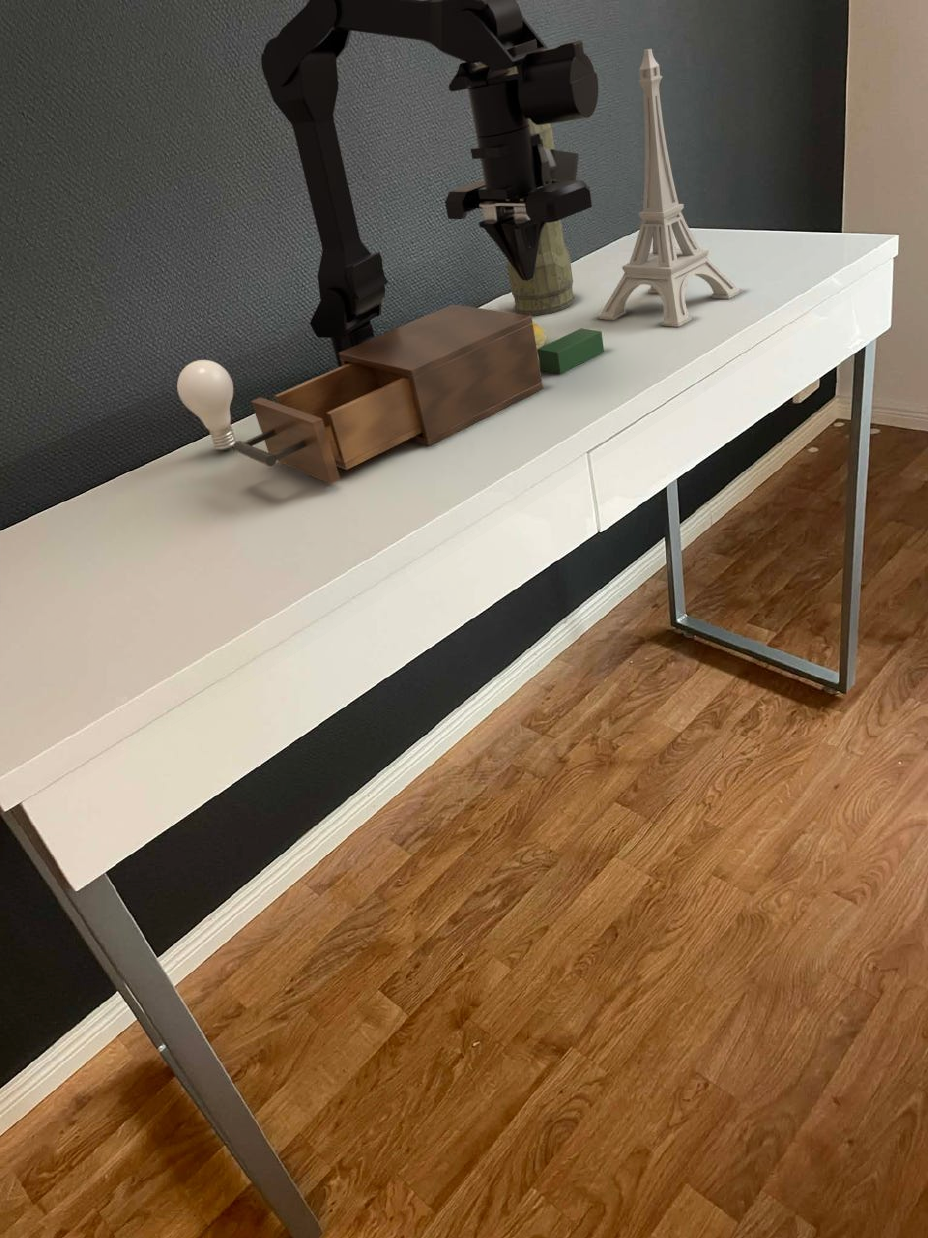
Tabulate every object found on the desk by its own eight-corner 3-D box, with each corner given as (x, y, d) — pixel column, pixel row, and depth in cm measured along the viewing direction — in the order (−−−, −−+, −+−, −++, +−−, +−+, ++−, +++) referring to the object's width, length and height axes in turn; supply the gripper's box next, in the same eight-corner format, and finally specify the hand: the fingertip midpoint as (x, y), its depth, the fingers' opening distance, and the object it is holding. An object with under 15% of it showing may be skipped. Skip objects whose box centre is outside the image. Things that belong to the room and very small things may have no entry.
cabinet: (429, 446, 105) (411, 370, 100) (357, 422, 115) (338, 352, 111) (543, 388, 112) (531, 315, 108) (466, 371, 123) (452, 303, 118)
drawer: (291, 503, 97) (271, 441, 94) (233, 474, 107) (212, 417, 103) (450, 424, 106) (437, 365, 103) (383, 404, 116) (368, 349, 112)
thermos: (592, 291, 141) (557, 14, 122) (549, 319, 134) (505, 29, 115) (541, 291, 146) (500, 26, 127) (498, 318, 139) (447, 41, 120)
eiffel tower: (598, 318, 130) (567, 67, 114) (660, 286, 136) (639, 44, 120) (678, 326, 121) (657, 54, 104) (741, 292, 127) (730, 30, 111)
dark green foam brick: (560, 373, 115) (557, 352, 114) (540, 369, 118) (536, 348, 116) (604, 351, 119) (601, 331, 117) (583, 348, 121) (580, 327, 120)
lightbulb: (209, 465, 113) (175, 376, 107) (196, 451, 118) (163, 364, 112) (259, 447, 115) (229, 358, 109) (245, 433, 120) (215, 347, 114)
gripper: (620, 106, 98) (636, 262, 107) (505, 116, 112) (527, 253, 120) (539, 134, 94) (563, 294, 102) (429, 141, 107) (458, 282, 116)
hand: (527, 279), depth 110 cm, fingers closed
